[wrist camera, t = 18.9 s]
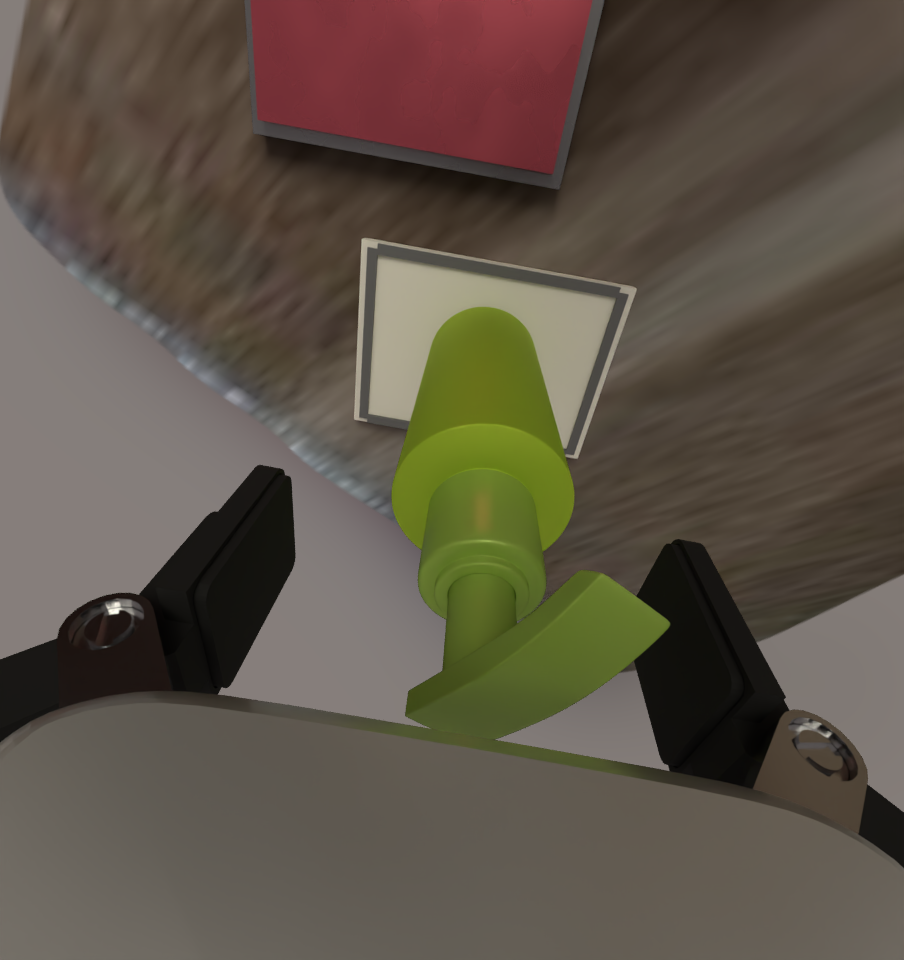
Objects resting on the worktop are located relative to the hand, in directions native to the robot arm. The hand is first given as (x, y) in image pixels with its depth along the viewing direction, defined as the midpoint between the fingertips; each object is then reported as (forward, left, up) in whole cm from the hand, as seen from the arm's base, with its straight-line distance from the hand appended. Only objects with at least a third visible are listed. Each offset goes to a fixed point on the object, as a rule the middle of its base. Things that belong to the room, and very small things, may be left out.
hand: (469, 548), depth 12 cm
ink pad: (-12, -5, -17) cm, 22 cm away
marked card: (+1, 0, -17) cm, 17 cm away
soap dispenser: (0, 0, -17) cm, 17 cm away
